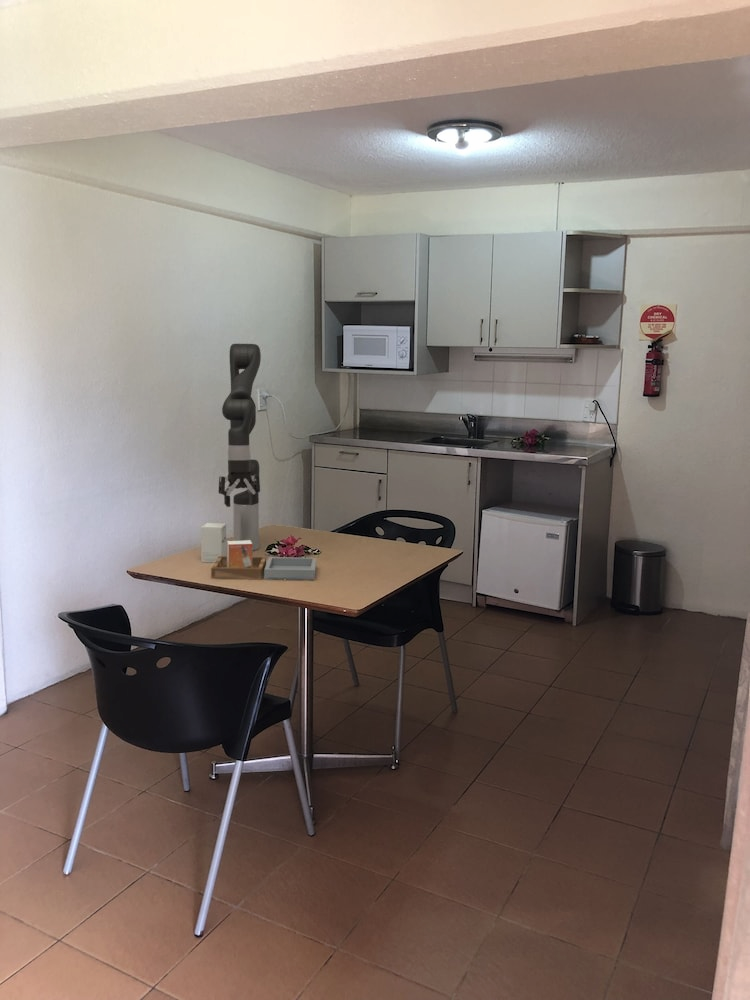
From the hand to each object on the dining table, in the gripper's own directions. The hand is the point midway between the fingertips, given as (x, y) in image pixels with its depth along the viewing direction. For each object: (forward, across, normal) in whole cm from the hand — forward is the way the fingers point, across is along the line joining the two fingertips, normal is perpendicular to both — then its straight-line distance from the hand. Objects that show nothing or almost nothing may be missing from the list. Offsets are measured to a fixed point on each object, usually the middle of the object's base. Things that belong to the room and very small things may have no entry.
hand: (239, 505), depth 283 cm
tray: (+21, -10, +19) cm, 30 cm away
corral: (+21, +5, +10) cm, 24 cm away
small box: (+21, +5, +10) cm, 24 cm away
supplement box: (+20, +6, -9) cm, 23 cm away
